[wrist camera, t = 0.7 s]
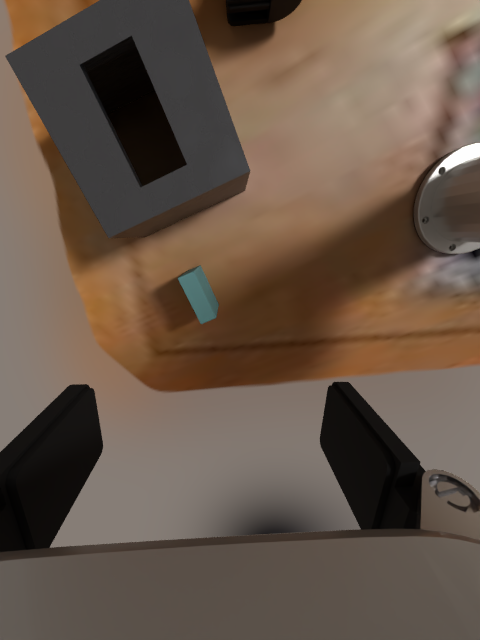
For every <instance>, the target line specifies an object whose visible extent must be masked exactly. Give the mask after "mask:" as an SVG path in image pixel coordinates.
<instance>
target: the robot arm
mask: <svg viewBox="0 0 480 640" xmlns="http://www.w3.org/2000/svg"><path fill="white" fill-rule="evenodd" d="M414 223H415V227H416V230H417V233H418V235H419V237H420V238H421V240H422V241H423V242H424V243H425V244H426V245H427V246H428V247H430V248H431V249H433V250H435V251H438V252H441V253H447V254H462V253H467V252H471V251H473V250H476V249H478V248H480V142H478V143H472V144H469V145H467V146H464V147H461V148H459V149H457V150H454V151H452V152H451V153H449V154H448V155H446V156H445V157H443V158H442V159H441V160H440V161H439V162H438V163H437V164H435V165H434V166H433V168H432V169H431V170H430V171H429V173H428V174H427V175H426V177H425V179H424V180H423V182H422V184H421V186H420V188H419V191H418V193H417V196H416V200H415V205H414ZM320 444H321V448H322V450H323V452H324V454H325V456H326V458H327V460H328V462H329V464H330V466H331V468H332V470H333V472H334V475H335V476H336V479H337V481H338V483H339V485H340V487H341V489H342V491H343V493H344V495H345V497H346V499H347V501H348V503H349V505H350V507H351V510H352V512H353V514H354V516H355V518H356V520H357V522H358V524H359V526H360V528H361V530H339V531H319V532H301V533H281V534H262V535H245V536H229V537H228V536H227V537H211V538H195V539H178V540H160V541H146V542H129V543H114V544H100V545H84V546H69V547H56V548H49V547H50V545H51V543H52V542H53V540H54V538H55V536H56V534H57V533H58V530H59V529H60V527H61V525H62V524H63V522H64V520H65V518H66V516H67V515H68V513H69V511H70V509H71V507H72V506H73V504H74V502H75V500H76V498H77V497H78V495H79V493H80V491H81V489H82V488H83V486H84V484H85V482H86V480H87V479H88V477H89V475H90V473H91V471H92V470H93V468H94V466H95V464H96V462H97V461H98V459H99V457H100V455H101V453H102V449H103V441H102V436H101V429H100V423H99V417H98V411H97V404H96V399H95V393H94V389H92V388H90V387H89V386H88V385H87V384H85V385H70V386H68V387H67V388H66V389H65V390H64V391H63V392H62V393H61V394H60V395H59V396H58V397H57V398H56V399H55V400H54V401H53V402H52V403H51V404H50V405H49V406H48V407H47V408H46V409H45V410H43V411H42V412H41V413H40V414H39V415H38V416H37V417H36V418H35V419H34V420H33V421H32V422H31V423H30V424H29V425H28V426H27V427H26V428H25V429H24V430H23V431H22V432H21V433H20V434H19V435H18V436H17V437H16V438H14V439H13V440H12V442H10V443H9V444H8V445H7V446H6V447H5V448H4V449H3V450H2V451H1V452H0V640H480V493H479V492H478V491H477V490H476V489H475V488H474V487H473V486H472V485H470V484H469V483H467V482H466V481H464V480H463V479H462V478H460V477H458V476H456V475H454V474H451V473H449V472H446V471H443V470H436V469H432V470H427V471H425V470H424V469H423V468H422V467H421V465H420V461H419V460H418V459H417V458H416V457H415V455H413V453H412V452H411V451H410V450H409V449H408V448H407V447H406V446H405V444H404V443H403V442H402V441H401V440H400V439H399V438H398V437H397V435H396V434H395V433H394V432H393V431H392V430H391V429H390V428H389V427H388V425H387V424H386V423H385V422H384V421H383V420H382V419H381V418H380V416H379V415H377V413H376V412H375V411H374V410H373V409H372V408H371V406H370V405H369V404H368V403H367V402H366V401H365V400H364V399H363V398H362V396H361V395H360V394H359V393H358V392H357V391H356V390H355V389H354V388H353V386H352V385H351V384H350V383H349V382H334V383H333V384H332V386H329V387H328V391H327V397H326V404H325V409H324V416H323V422H322V428H321V434H320Z"/></svg>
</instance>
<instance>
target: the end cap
mask: <svg viewBox="0 0 480 640" xmlns="http://www.w3.org/2000/svg"><path fill="white" fill-rule="evenodd" d="M301 1H302V0H226V8H227V20H228V23H229V24H230V25H231V26H240V25H250V24H261V23H267V22H268V23H271V22H275V21H278V20H281V19H283V18H285V17H286V16H288V15H289V14H291V13H292V12H293V11H294V10H295V9H296V8H297V7H298V5H299V4H300V2H301Z"/></svg>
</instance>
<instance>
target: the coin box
mask: <svg viewBox="0 0 480 640" xmlns="http://www.w3.org/2000/svg"><path fill="white" fill-rule="evenodd" d="M6 58H7V60H8V62H9V64H10V65H11V67H12V69H13V71H14V72H15V74H16V76H17V78H18V79H19V81H20V83H21V85H22V87H23V88H24V90H25V92H26V94H27V95H28V97H29V99H30V101H31V102H32V104H33V106H34V108H35V109H36V111H37V113H38V115H39V116H40V118H41V120H42V122H43V124H44V125H45V127H46V129H47V131H48V132H49V134H50V136H51V138H52V139H53V141H54V143H55V145H56V146H57V148H58V150H59V152H60V153H61V155H62V157H63V159H64V161H65V162H66V164H67V166H68V168H69V169H70V171H71V173H72V175H73V176H74V178H75V180H76V182H77V183H78V185H79V187H80V189H81V190H82V192H83V194H84V196H85V198H86V199H87V201H88V203H89V205H90V206H91V208H92V210H93V212H94V213H95V215H96V217H97V219H98V220H99V222H100V224H101V226H102V227H103V229H104V231H105V233H106V234H107V236H108V238H131V237H146V236H148V235H150V234H153V233H155V232H157V231H159V230H161V229H163V228H165V227H168V226H170V225H172V224H174V223H176V222H178V221H180V220H183V219H185V218H187V217H189V216H191V215H193V214H195V213H198V212H200V211H202V210H204V209H206V208H208V207H211V206H213V205H215V204H217V203H219V202H221V201H223V200H226V199H228V198H230V197H232V196H234V195H236V194H238V193H241V192H243V191H245V189H246V185H247V181H248V178H249V174H250V169H249V166H248V164H247V161H246V158H245V155H244V152H243V150H242V147H241V144H240V141H239V138H238V136H237V133H236V130H235V127H234V125H233V122H232V119H231V116H230V113H229V111H228V108H227V105H226V102H225V100H224V97H223V94H222V91H221V88H220V86H219V83H218V80H217V77H216V75H215V72H214V69H213V66H212V63H211V61H210V58H209V55H208V52H207V50H206V47H205V44H204V41H203V38H202V36H201V33H200V30H199V27H198V25H197V22H196V19H195V16H194V13H193V11H192V8H191V5H190V2H189V0H100V1H98V2H96V3H95V4H93V5H91V6H90V7H88V8H86V9H84V10H83V11H81V12H79V13H78V14H76V15H74V16H72V17H71V18H69V19H67V20H66V21H64V22H62V23H61V24H59V25H57V26H55V27H54V28H52V29H50V30H49V31H47V32H45V33H44V34H42V35H40V36H38V37H37V38H35V39H33V40H32V41H30V42H28V43H26V44H25V45H23V46H21V47H20V48H18V49H16V50H15V51H13V52H11V53H10V54H8V55H6ZM153 90H155V91H156V93H157V96H158V98H159V100H160V103H161V105H162V107H163V110H164V112H165V114H166V117H167V119H168V121H169V124H170V126H171V128H172V131H173V133H174V135H175V138H176V140H177V142H178V145H179V147H180V149H181V152H182V154H183V156H184V158H185V161H186V163H187V165H185V166H183V167H181V168H179V169H177V170H175V171H173V172H171V173H169V174H167V175H165V176H163V177H161V178H159V179H157V180H155V181H153V182H151V183H149V184H147V185H145V186H142V184H141V182H140V180H139V178H138V176H137V174H136V172H135V170H134V168H133V166H132V164H131V162H130V160H129V158H128V156H127V154H126V152H125V150H124V148H123V146H122V143H121V141H120V139H119V137H118V135H117V133H116V131H115V129H114V127H113V125H112V123H111V121H110V119H109V117H108V114H110V113H112V112H114V111H116V110H117V109H119V108H121V107H123V106H125V105H127V104H129V103H131V102H132V101H134V100H136V99H138V98H140V97H142V96H144V95H146V94H148V93H149V92H151V91H153Z"/></svg>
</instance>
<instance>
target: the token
mask: <svg viewBox="0 0 480 640" xmlns="http://www.w3.org/2000/svg"><path fill="white" fill-rule="evenodd" d="M178 280H179V282H180V284H181V286H182V288H183V290H184V292H185V294H186V296H187V298H188V300H189V302H190V304H191V306H192V308H193V309H194V311H195V313H196V315H197V317H198V319H199V321H200V323H201V324H203V323H205V322H208V321H210V320H212V319H215V318H216V316H217V311H218V306H219V304H218V302H217V300H216V297H215V295H214V293H213V291H212V289H211V287H210V285H209V283H208V280H207V278H206V276H205V274H204V272H203V270H202V268H201V265H199V266H197V267H195V268H193V269H190V270H188V271H186V272H185V273H184V274H182V275H181V276H180V277H179V278H178Z"/></svg>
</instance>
